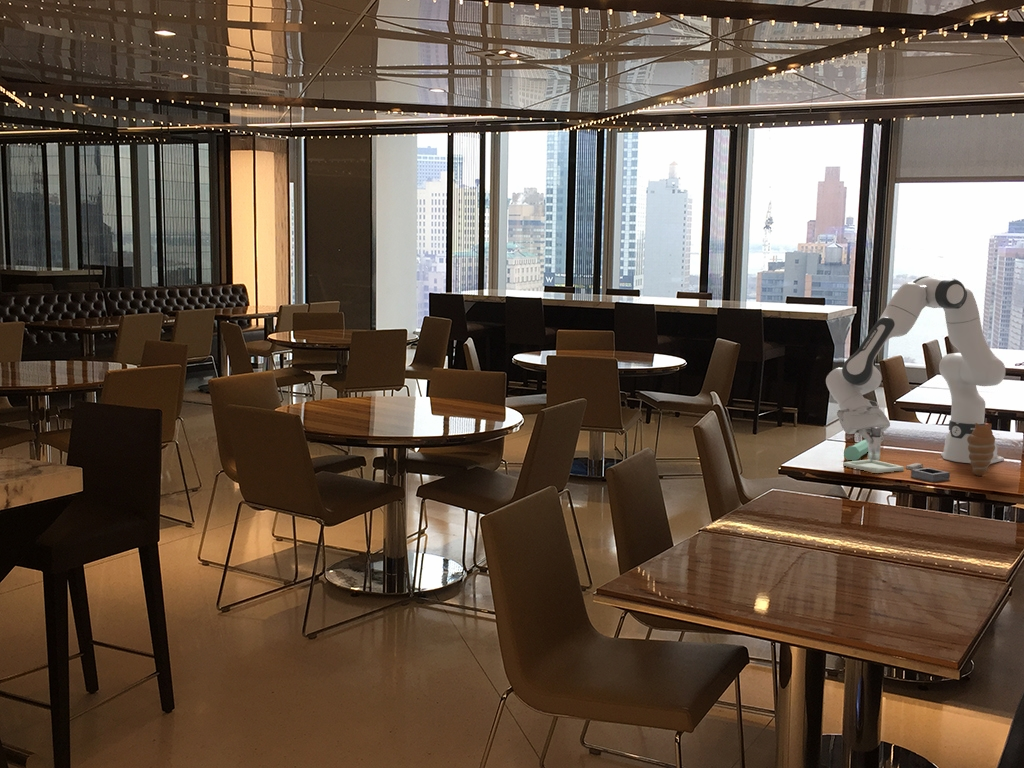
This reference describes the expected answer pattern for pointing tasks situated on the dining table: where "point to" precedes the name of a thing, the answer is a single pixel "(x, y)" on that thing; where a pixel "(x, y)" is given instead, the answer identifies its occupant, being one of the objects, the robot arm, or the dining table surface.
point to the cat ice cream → (981, 448)
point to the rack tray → (873, 466)
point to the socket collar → (930, 474)
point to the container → (856, 450)
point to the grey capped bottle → (874, 444)
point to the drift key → (914, 466)
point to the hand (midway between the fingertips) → (876, 441)
